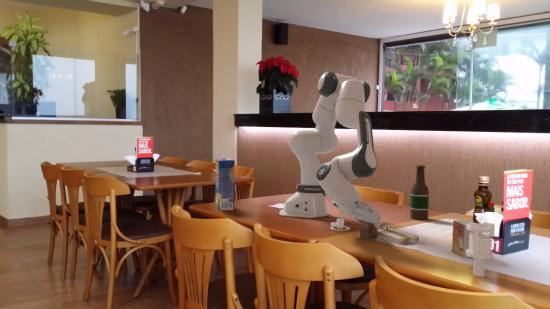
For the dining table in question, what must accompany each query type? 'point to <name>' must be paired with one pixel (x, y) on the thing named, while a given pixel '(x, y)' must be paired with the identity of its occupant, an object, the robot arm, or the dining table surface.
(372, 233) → the block
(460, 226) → the small box
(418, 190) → the beer bottle
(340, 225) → the white curved piece
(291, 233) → the dining table surface
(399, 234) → the ash board
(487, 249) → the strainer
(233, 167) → the juice carton
